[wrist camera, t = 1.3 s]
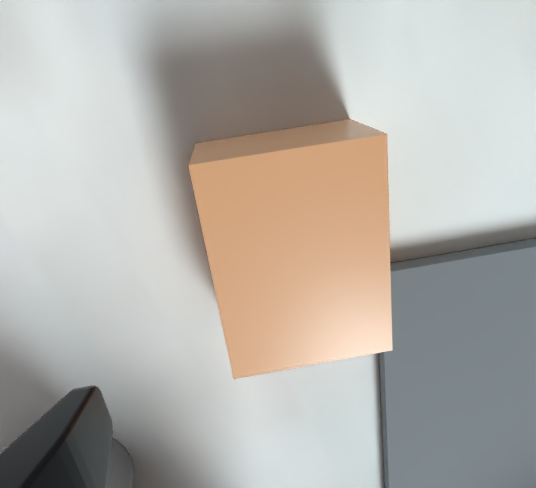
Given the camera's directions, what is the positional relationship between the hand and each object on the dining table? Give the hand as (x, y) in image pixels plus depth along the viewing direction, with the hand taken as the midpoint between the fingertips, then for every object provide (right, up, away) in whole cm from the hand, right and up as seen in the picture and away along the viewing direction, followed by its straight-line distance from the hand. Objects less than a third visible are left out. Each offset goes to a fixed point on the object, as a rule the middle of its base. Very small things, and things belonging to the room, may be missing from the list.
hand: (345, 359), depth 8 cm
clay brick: (-1, +3, +7) cm, 7 cm away
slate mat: (+10, -4, +10) cm, 15 cm away
